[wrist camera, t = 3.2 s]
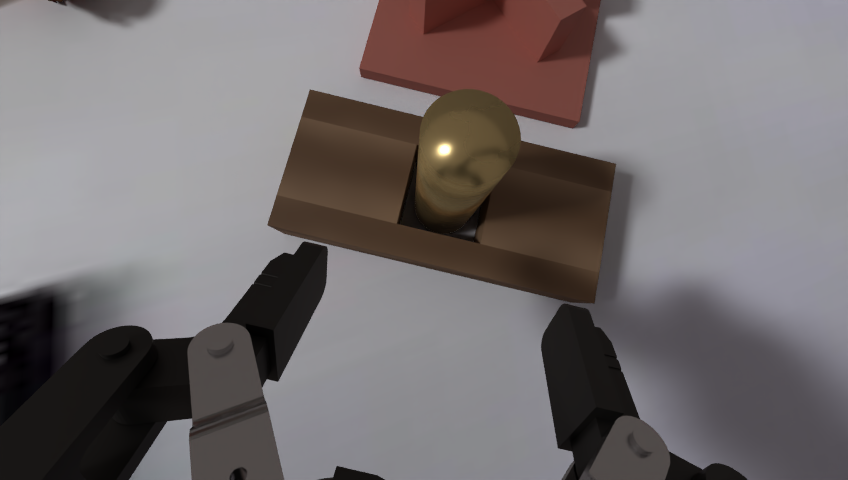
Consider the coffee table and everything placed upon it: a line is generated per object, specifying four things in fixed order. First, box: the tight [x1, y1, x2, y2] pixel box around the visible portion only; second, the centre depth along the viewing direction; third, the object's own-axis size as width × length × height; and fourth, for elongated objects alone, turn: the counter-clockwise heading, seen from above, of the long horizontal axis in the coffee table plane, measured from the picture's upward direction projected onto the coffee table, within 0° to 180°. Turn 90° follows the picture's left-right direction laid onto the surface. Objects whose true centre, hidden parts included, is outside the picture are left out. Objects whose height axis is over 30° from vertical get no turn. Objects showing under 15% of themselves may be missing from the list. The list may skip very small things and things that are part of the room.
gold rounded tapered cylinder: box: [415, 89, 521, 234], centre depth 19 cm, size 4×4×11 cm
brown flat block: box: [268, 90, 616, 303], centre depth 23 cm, size 9×20×3 cm, turn 77°
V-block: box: [359, 0, 601, 128], centre depth 25 cm, size 12×16×5 cm
